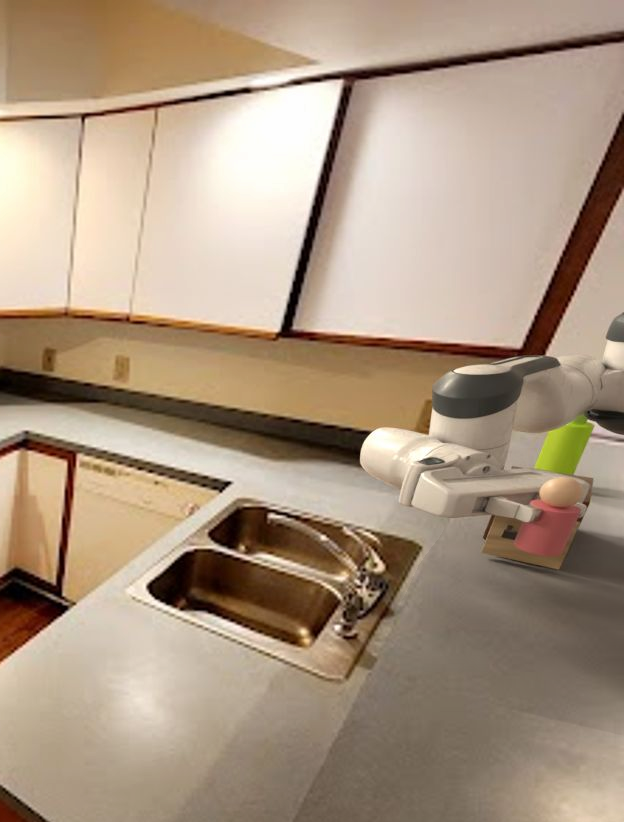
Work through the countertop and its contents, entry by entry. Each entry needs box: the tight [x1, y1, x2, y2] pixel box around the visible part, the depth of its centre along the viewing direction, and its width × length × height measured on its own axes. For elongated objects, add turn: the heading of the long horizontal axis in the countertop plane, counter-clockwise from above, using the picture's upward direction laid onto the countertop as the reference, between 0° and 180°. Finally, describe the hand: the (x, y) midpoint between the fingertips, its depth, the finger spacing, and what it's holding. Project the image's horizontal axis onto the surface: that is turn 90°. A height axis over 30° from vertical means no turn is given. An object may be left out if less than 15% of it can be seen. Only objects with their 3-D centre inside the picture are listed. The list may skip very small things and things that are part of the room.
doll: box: [514, 477, 584, 556], centre depth 79 cm, size 5×5×10 cm
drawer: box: [480, 515, 581, 571], centre depth 100 cm, size 18×9×8 cm, turn 134°
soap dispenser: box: [533, 413, 595, 475], centre depth 123 cm, size 6×7×20 cm
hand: (558, 514), depth 78 cm, fingers closed on doll, 4 cm apart
